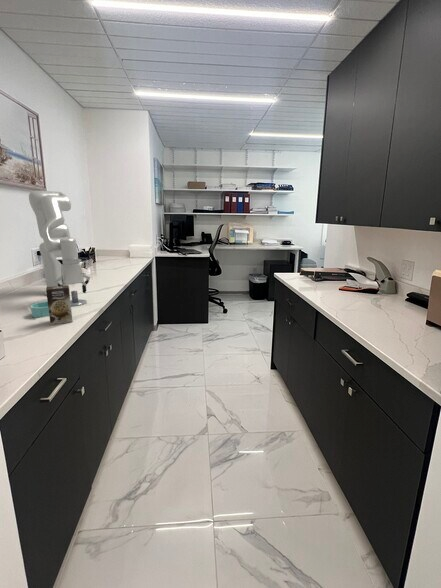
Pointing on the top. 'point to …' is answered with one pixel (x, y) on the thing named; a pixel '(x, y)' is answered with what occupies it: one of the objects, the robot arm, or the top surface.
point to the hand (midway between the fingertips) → (74, 294)
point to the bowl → (39, 309)
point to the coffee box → (59, 304)
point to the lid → (76, 300)
